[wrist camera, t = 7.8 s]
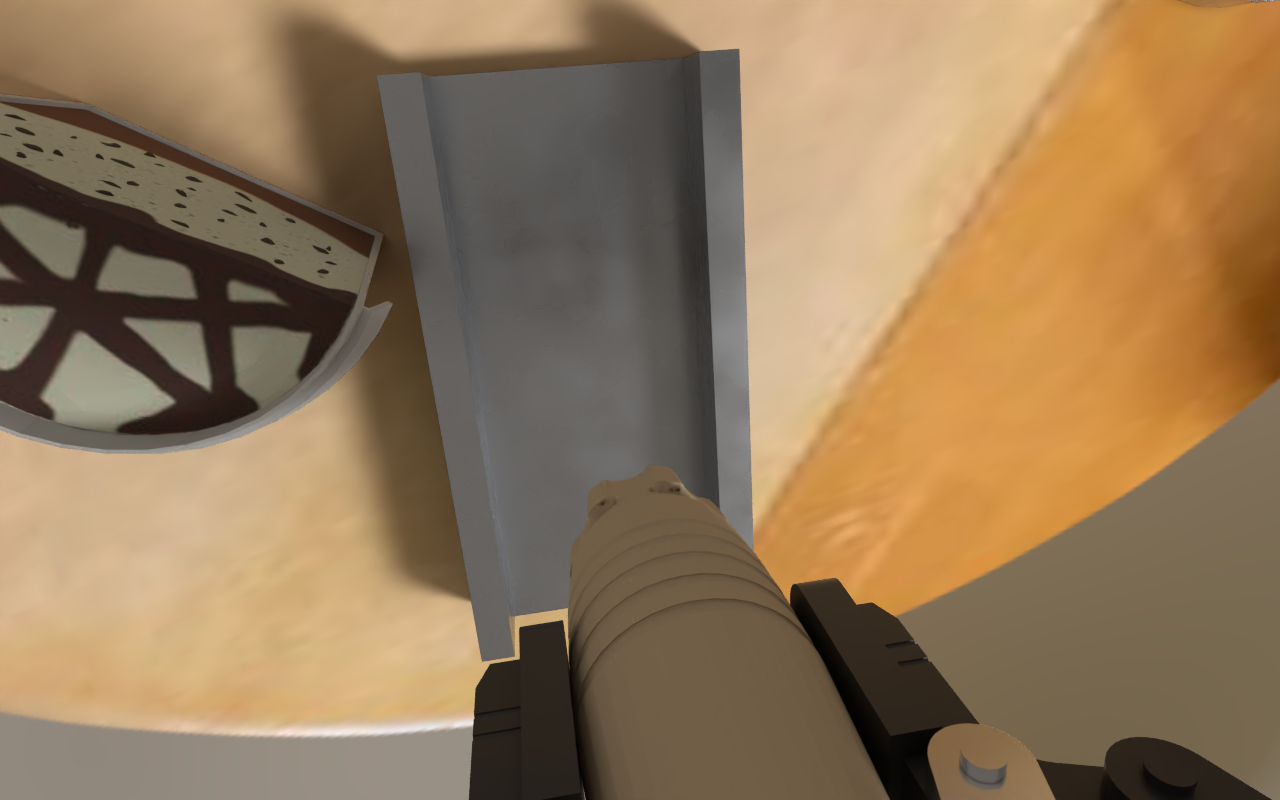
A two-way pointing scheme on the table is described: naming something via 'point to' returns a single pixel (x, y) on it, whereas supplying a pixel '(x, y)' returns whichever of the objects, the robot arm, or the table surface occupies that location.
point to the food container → (162, 288)
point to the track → (575, 300)
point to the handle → (696, 662)
